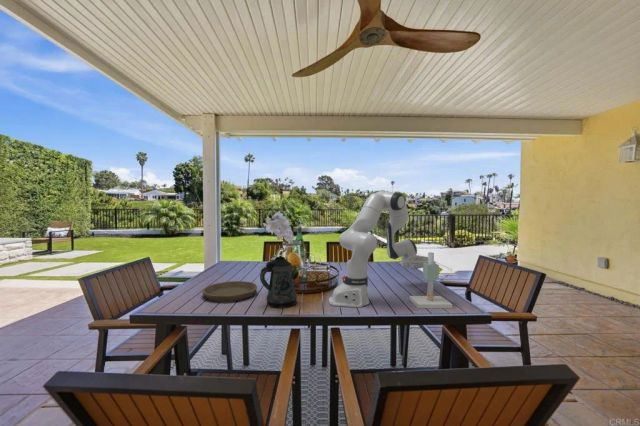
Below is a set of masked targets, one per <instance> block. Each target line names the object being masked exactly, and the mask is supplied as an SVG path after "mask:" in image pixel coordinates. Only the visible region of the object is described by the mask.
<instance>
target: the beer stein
mask: <svg viewBox="0 0 640 426" xmlns="http://www.w3.org/2000/svg"><path fill="white" fill-rule="evenodd" d="M274 258H275V259H273V260H271V261H268V262H266V264H265V266H264V267H263V268H262V269H261V270H260V273H259V281H260V282H261V284H262V285H263V287H264V288H265V289H266V290H268V291H267V295H266V299H265V300H266V303H267V306H269V307H271V308H274V309H282V308H283V309H285V307H286V308H291V307H293V306H295V305H296V304H297V298H298V295H297V292H296V290H295V286H294V280H293V274H292V269H293V264H292V263H291V261H290V262H289V261H288V260H287V259H286V257H284V256H276V257H274ZM266 273H270V277H269V283H268V282H267V280H266V277H265V276H266Z"/></svg>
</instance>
